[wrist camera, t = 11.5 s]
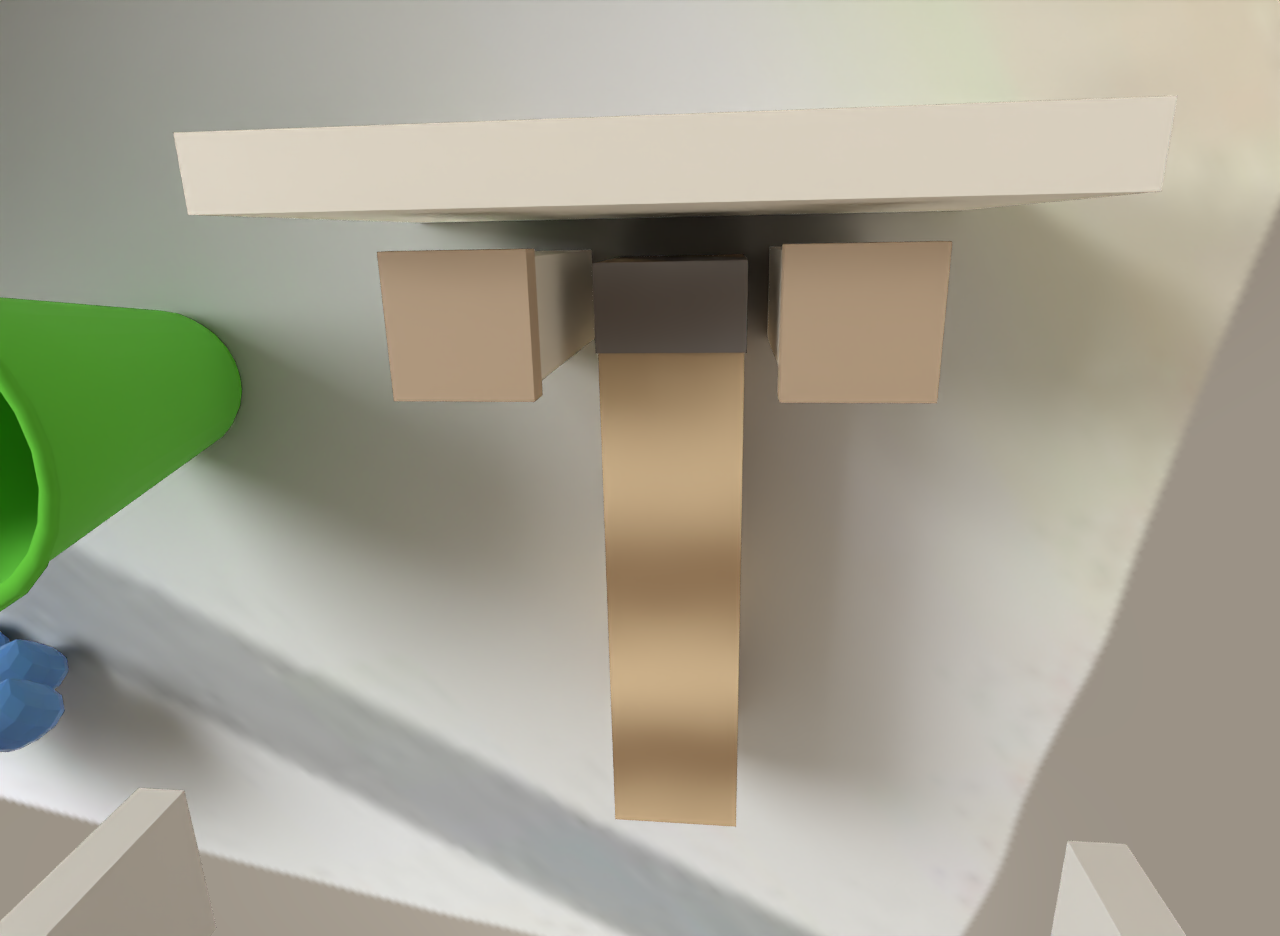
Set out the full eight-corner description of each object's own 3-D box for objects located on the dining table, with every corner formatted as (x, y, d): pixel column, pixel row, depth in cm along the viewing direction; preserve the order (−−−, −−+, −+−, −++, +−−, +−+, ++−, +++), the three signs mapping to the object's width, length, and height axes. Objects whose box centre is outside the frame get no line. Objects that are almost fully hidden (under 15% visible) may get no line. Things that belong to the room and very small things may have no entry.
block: (622, 256, 26) (592, 262, 20) (743, 254, 26) (748, 260, 20) (634, 712, 31) (613, 821, 26) (735, 717, 31) (737, 828, 25)
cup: (194, 534, 31) (-75, 686, 21) (25, 359, 30) (-356, 428, 19) (342, 401, 29) (123, 496, 18) (166, 203, 27) (-181, 184, 17)
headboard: (431, 344, 28) (225, 422, 16) (414, 176, 26) (173, 132, 15) (947, 342, 26) (1121, 428, 14) (965, 160, 24) (1177, 95, 13)
